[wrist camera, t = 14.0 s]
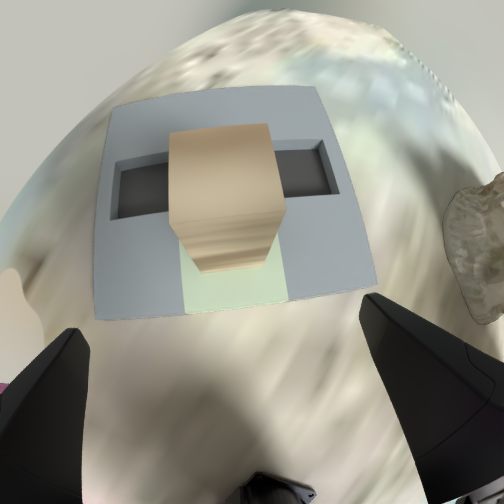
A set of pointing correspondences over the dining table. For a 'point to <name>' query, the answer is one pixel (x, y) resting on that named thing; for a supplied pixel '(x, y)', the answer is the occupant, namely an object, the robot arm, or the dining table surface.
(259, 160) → the beech post
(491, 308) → the grey rough lump
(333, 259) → the board
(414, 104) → the dining table surface
